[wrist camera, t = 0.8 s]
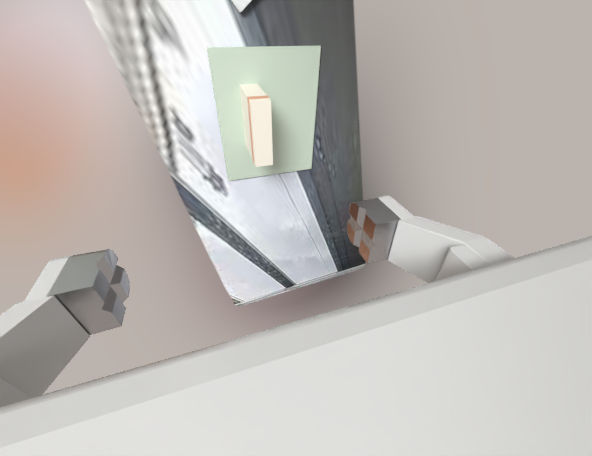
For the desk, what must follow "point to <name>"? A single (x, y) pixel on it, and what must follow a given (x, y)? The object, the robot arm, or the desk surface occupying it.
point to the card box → (257, 124)
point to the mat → (284, 103)
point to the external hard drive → (241, 4)
